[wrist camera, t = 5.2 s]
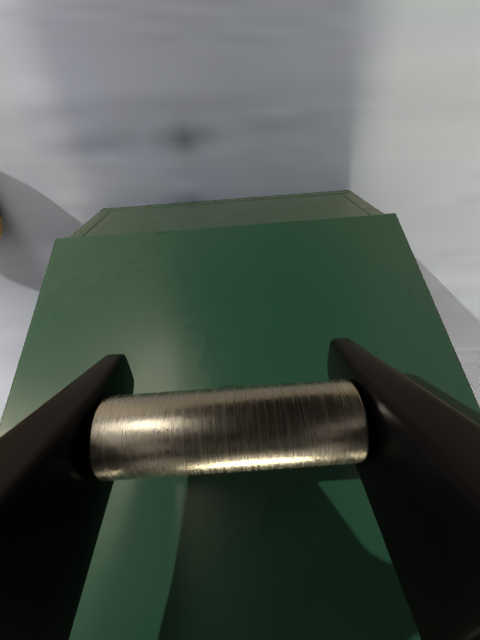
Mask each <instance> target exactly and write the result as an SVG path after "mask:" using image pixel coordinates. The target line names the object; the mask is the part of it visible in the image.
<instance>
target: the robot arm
mask: <svg viewBox="0 0 480 640" xmlns="http://www.w3.org/2000/svg"><path fill="white" fill-rule="evenodd" d="M327 371H328V376H329V380H333V379H349V380H351V381H352V382H353V383H354V384H355V385H356V387H357V388H358V390H359V392H360V394H361V397H362V399H363V402H364V405H365V409H366V413H367V417H368V423H369V431H370V448H369V454H368V457H367V459H366V460H365V461H364V462H362V463H355V465H356V468H357V471H358V473H359V476H360V479H361V481H362V484H363V486H364V489H365V492H366V494H367V497H368V500H369V502H370V505H371V508H372V510H373V513H374V516H375V518H376V521H377V523H378V526H379V529H380V531H381V534H382V537H383V539H384V542H385V545H386V547H387V550H388V553H389V555H390V558H391V561H392V563H393V566H394V568H395V571H396V574H397V576H398V579H399V582H400V584H401V587H402V590H403V592H404V595H405V598H406V600H407V603H408V606H409V608H410V611H411V613H412V616H413V619H414V621H415V624H416V627H417V629H418V632H419V635H420V637H421V640H480V425H479V424H477V423H475V422H474V421H472V420H471V419H469V418H468V417H466V416H465V415H463V414H462V413H460V412H459V411H457V410H456V409H454V408H453V407H451V406H450V405H448V404H447V403H445V402H444V401H442V400H441V399H439V398H438V397H436V396H435V395H433V394H432V393H430V392H429V391H427V390H426V389H424V388H423V387H421V386H420V385H418V384H417V383H415V382H414V381H412V380H411V379H409V378H408V377H406V376H405V375H403V374H402V373H400V372H399V371H397V370H396V369H394V368H393V367H391V366H390V365H388V364H387V363H385V362H384V361H382V360H381V359H379V358H378V357H376V356H374V355H373V354H371V353H370V352H368V351H367V350H365V349H364V348H362V347H361V346H359V345H358V344H356V343H355V342H353V341H352V340H350V339H348V338H339V339H332V340H331V342H330V346H329V354H328V362H327ZM133 390H134V378H133V375H132V372H131V369H130V366H129V363H128V360H127V358H126V356H125V355H124V354H110V355H106V356H105V357H104V358H102V359H101V360H100V361H98V362H97V363H96V364H95V365H93V366H92V367H91V368H89V369H88V370H87V371H85V372H84V373H83V374H82V375H80V376H79V377H78V378H76V379H75V380H74V381H73V382H71V383H70V384H69V385H67V386H66V387H65V388H63V389H62V390H61V391H60V392H58V393H57V394H56V395H54V396H53V397H52V398H50V399H49V400H48V401H47V402H45V403H44V404H43V405H41V406H40V407H39V408H38V409H36V410H35V411H34V412H32V413H31V414H30V415H28V416H27V417H26V418H25V419H23V420H22V421H21V422H19V423H18V424H17V425H15V426H14V427H13V428H12V429H10V430H9V431H8V432H6V433H5V434H4V435H2V436H1V437H0V640H69V637H70V634H71V630H72V627H73V623H74V620H75V616H76V613H77V609H78V606H79V602H80V599H81V595H82V592H83V588H84V585H85V581H86V578H87V574H88V571H89V567H90V564H91V560H92V557H93V553H94V550H95V546H96V543H97V539H98V536H99V532H100V529H101V525H102V522H103V518H104V514H105V511H106V507H107V504H108V500H109V497H110V493H111V490H112V486H113V483H114V481H101V480H98V479H97V478H96V477H95V476H94V474H93V473H92V470H91V468H90V464H89V458H88V435H89V428H90V423H91V420H92V417H93V414H94V411H95V409H96V407H97V406H98V404H99V403H100V402H101V400H103V399H104V398H106V397H108V396H114V395H128V394H133Z"/></svg>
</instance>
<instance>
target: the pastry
mask: <svg viewBox="0 0 480 640" xmlns="http://www.w3.org/2000/svg"><path fill="white" fill-rule="evenodd" d="M2 233H3V224H2V220H1V216H0V239H1V236H2Z"/></svg>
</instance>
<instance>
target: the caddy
mask: <svg viewBox="0 0 480 640" xmlns="http://www.w3.org/2000/svg"><path fill="white" fill-rule="evenodd" d="M379 214H383V213H382V212H380V211H379V210H378V209H376V208H375V207H373V206H372V205H370V204H369V203H367V202H366V201H364V200H363V199H362V198H360V197H359V196H357V195H356V194H354V193H353V192H351V191H350V190H344V191H331V192H318V193H305V194H292V195H278V196H265V197H252V198H239V199H226V200H212V201H199V202H186V203H173V204H160V205H146V206H133V207H120V208H107V209H102V210H101V211H100V212H99V213H97V214H96V215H95V216H94V217H93V218H92V219H90V220H89V221H88V222H87V223H86V224H85V225H83V226H82V227H81V228H80V229H79V230H77V231H76V232H75V233H74V234H73V235H72V236H70V237H69V238H74V237H87V236H100V235H114V234H127V233H140V232H153V231H167V230H180V229H193V228H206V227H220V226H233V225H246V224H260V223H273V222H286V221H299V220H313V219H326V218H339V217H352V216H366V215H379Z"/></svg>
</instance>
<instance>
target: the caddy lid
mask: <svg viewBox="0 0 480 640" xmlns="http://www.w3.org/2000/svg"><path fill="white" fill-rule="evenodd" d="M339 338H348V339H350V340H352V341H353V342H355V343H356V344H358V345H359V346H361V347H362V348H364V349H365V350H367V351H368V352H370V353H371V354H373V355H374V356H376V357H378V358H379V359H381V360H382V361H384V362H385V363H387V364H388V365H390V366H391V367H393V368H394V369H396V370H397V371H399V372H400V373H402V374H403V375H405V376H406V377H408V378H409V379H411V380H412V381H414V382H415V383H417V384H418V385H420V386H421V387H423V388H424V389H426V390H427V391H429V392H430V393H432V394H433V395H435V396H436V397H438V398H439V399H441V400H442V401H444V402H445V403H447V404H448V405H450V406H451V407H453V408H454V409H456V410H457V411H459V412H460V413H462V414H463V415H465V416H466V417H468V418H469V419H471V420H472V421H474V422H475V423H477V424H479V425H480V408H479V405H478V403H477V401H476V398H475V396H474V394H473V392H472V389H471V387H470V385H469V382H468V380H467V378H466V375H465V373H464V371H463V368H462V366H461V364H460V361H459V359H458V357H457V355H456V352H455V350H454V348H453V345H452V343H451V341H450V338H449V336H448V334H447V331H446V329H445V327H444V324H443V322H442V320H441V318H440V315H439V313H438V311H437V308H436V306H435V304H434V301H433V299H432V297H431V294H430V292H429V290H428V287H427V285H426V283H425V281H424V278H423V276H422V274H421V271H420V269H419V267H418V264H417V262H416V260H415V257H414V255H413V253H412V251H411V248H410V246H409V244H408V241H407V239H406V237H405V234H404V232H403V230H402V227H401V225H400V223H399V220H398V218H397V216H396V214H395V213H392V214H379V215H366V216H352V217H339V218H326V219H313V220H299V221H286V222H273V223H260V224H246V225H233V226H220V227H206V228H193V229H180V230H167V231H153V232H140V233H127V234H114V235H100V236H87V237H74V238H61V239H56V241H55V244H54V247H53V251H52V254H51V257H50V261H49V264H48V267H47V271H46V274H45V277H44V280H43V284H42V287H41V290H40V294H39V297H38V300H37V304H36V307H35V310H34V314H33V317H32V320H31V324H30V327H29V330H28V333H27V337H26V340H25V343H24V347H23V350H22V353H21V357H20V360H19V363H18V367H17V370H16V373H15V376H14V380H13V383H12V386H11V390H10V393H9V396H8V400H7V403H6V406H5V410H4V413H3V416H2V420H1V423H0V437H1V436H2V435H4V434H5V433H6V432H8V431H9V430H10V429H12V428H13V427H14V426H15V425H17V424H18V423H19V422H21V421H22V420H23V419H25V418H26V417H27V416H28V415H30V414H31V413H32V412H34V411H35V410H36V409H38V408H39V407H40V406H41V405H43V404H44V403H45V402H47V401H48V400H49V399H50V398H52V397H53V396H54V395H56V394H57V393H58V392H60V391H61V390H62V389H63V388H65V387H66V386H67V385H69V384H70V383H71V382H73V381H74V380H75V379H76V378H78V377H79V376H80V375H82V374H83V373H84V372H85V371H87V370H88V369H89V368H91V367H92V366H93V365H95V364H96V363H97V362H98V361H100V360H101V359H102V358H104V357H105V356H106V355H110V354H124V355H125V356H126V358H127V360H128V363H129V366H130V369H131V372H132V375H133V378H134V390H133V394H128V395H114V396H108V397H106V398H104V399H103V400H101V402H100V403H99V404H98V406H97V407H96V409H95V411H94V414H93V417H92V420H91V423H90V428H89V435H88V458H89V464H90V468H91V470H92V473H93V474H94V476H95V477H96V478H97V479H98V480H101V481H114V483H113V486H112V490H111V493H110V497H109V500H108V504H107V507H106V511H105V514H104V518H103V522H102V525H101V529H100V532H99V536H98V539H97V543H96V546H95V550H94V553H93V557H92V560H91V564H90V567H89V571H88V574H87V578H86V581H85V585H84V588H83V592H82V595H81V599H80V602H79V606H78V609H77V613H76V616H75V620H74V623H73V627H72V630H71V634H70V637H69V640H421V637H420V635H419V632H418V629H417V627H416V624H415V621H414V619H413V616H412V613H411V611H410V608H409V606H408V603H407V600H406V598H405V595H404V592H403V590H402V587H401V584H400V582H399V579H398V576H397V574H396V571H395V568H394V566H393V563H392V561H391V558H390V555H389V553H388V550H387V547H386V545H385V542H384V539H383V537H382V534H381V531H380V529H379V526H378V523H377V521H376V518H375V516H374V513H373V510H372V508H371V505H370V502H369V500H368V497H367V494H366V492H365V489H364V486H363V484H362V481H361V479H360V476H359V473H358V471H357V468H356V465H355V463H362V462H364V461H365V460H366V459H367V457H368V454H369V448H370V431H369V423H368V417H367V413H366V409H365V405H364V402H363V399H362V397H361V394H360V392H359V390H358V388H357V387H356V385H355V384H354V383H353V382H352V381H351V380H349V379H333V380H329V376H328V371H327V362H328V354H329V346H330V342H331V340H332V339H339Z"/></svg>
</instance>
